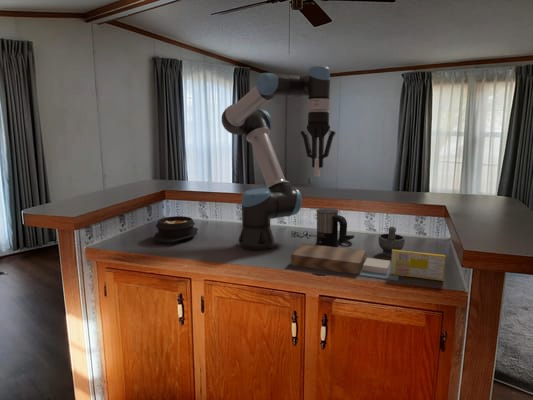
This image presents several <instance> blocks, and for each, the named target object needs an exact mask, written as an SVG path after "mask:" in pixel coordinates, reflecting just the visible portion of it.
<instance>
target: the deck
mask: <svg viewBox="0 0 533 400" xmlns="http://www.w3.org/2000/svg"><path fill="white" fill-rule="evenodd" d="M366 254H367V251H366V250H364V249H357V248H356V249H355V248H346V247H345V248H344V247H338V246H337V247H329V246H320V245H316V244H310V243H302V244H300V245H299V246H298V247H297V248H296V249H295V250H294V251H293V252H292V253H291V255H290V258H291V260H290V263H291V264H290V266H295V267H303V268H310V269H316V270H322V271H323V270H324V271H330V272H338V273H346V274H353V275H360V273H361V271H362V269H363V264H364V263H365V261H366V259H367V256H366Z"/></svg>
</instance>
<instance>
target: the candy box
mask: <svg viewBox="0 0 533 400" xmlns="http://www.w3.org/2000/svg"><path fill="white" fill-rule="evenodd" d="M390 262H391V268H390V274H393V275H399V276H403V277H410V278H416V279H417V278H418V279H424V280H432V281H439V282H440V281H441V282H444V276H445V266H446V265H445V264H446V255H445V254H437V253H428V252H421V251H420V252H419V251H409V250H403V249H401V250H394V249H392V257H391V259H390Z"/></svg>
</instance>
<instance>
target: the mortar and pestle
mask: <svg viewBox="0 0 533 400" xmlns="http://www.w3.org/2000/svg"><path fill="white" fill-rule="evenodd" d="M387 231H388V233H382V234H379V235H378V244H379V247H380V248H381V249H382V255H384V256H385V257H392V249H394V250H403V248H404V245H405V239H406V238H405V236H403V235H401V234H396V232H397V228H396V227H394V226H389V227H388V230H387Z"/></svg>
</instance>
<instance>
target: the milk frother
mask: <svg viewBox="0 0 533 400" xmlns="http://www.w3.org/2000/svg"><path fill="white" fill-rule="evenodd" d="M315 211H316V242H315V245H320V246H329V247H338V246H339V244H345V243H346V242H347V241H351V240H353V239H354V238H355V235H354V234H353V235H351V234H350V235H349V234H347V232H348V231H347V230H348V222H347V219H346V217H344V216H342V215H340V214H339V213H340V211H339V210H338V209H336V208H319V209H316V210H315ZM338 229H339V230H338ZM338 236H339V237H338Z"/></svg>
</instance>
